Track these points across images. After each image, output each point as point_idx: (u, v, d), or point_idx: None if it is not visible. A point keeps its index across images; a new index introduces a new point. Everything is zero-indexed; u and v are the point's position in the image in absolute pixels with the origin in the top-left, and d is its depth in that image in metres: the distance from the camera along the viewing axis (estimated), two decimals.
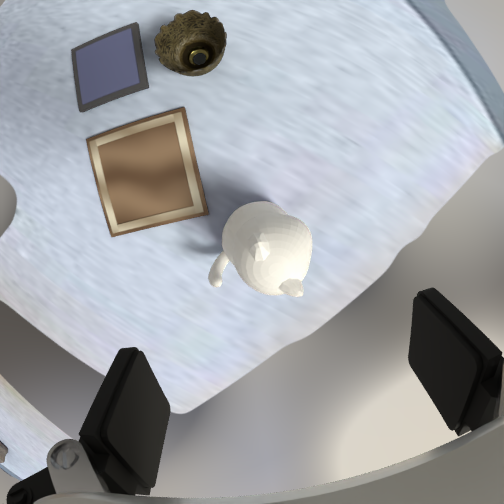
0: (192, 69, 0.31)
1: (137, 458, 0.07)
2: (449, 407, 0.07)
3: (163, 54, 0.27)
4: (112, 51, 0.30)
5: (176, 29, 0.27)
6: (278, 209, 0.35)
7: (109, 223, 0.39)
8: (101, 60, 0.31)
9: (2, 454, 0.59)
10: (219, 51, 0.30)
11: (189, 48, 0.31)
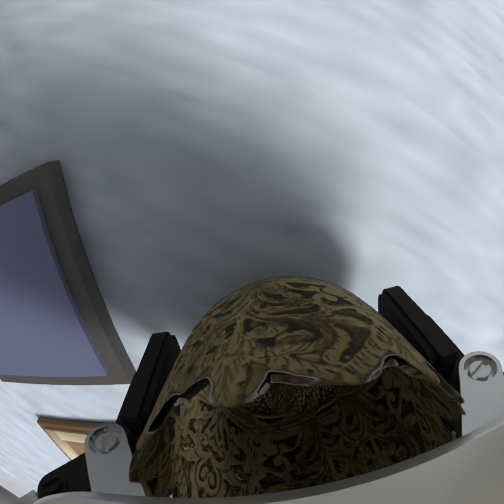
0: None
1: None
2: None
3: (175, 446, 0.07)
4: (6, 268, 0.10)
5: None
6: None
7: None
8: None
9: None
10: None
11: None
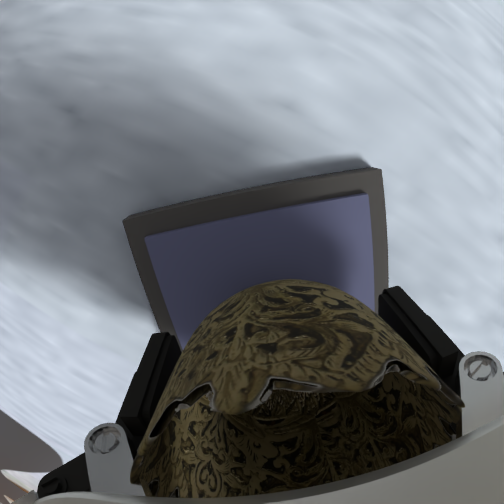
0: None
1: None
2: None
3: (175, 448, 0.07)
4: (302, 273, 0.12)
5: None
6: None
7: None
8: None
9: None
10: None
11: None
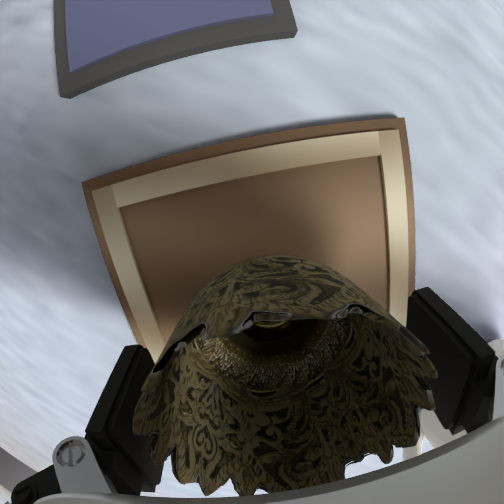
0: (257, 360, 0.12)
1: (143, 455, 0.07)
2: (443, 406, 0.07)
3: (174, 409, 0.08)
4: None
5: None
6: None
7: None
8: None
9: None
10: (344, 324, 0.11)
11: None
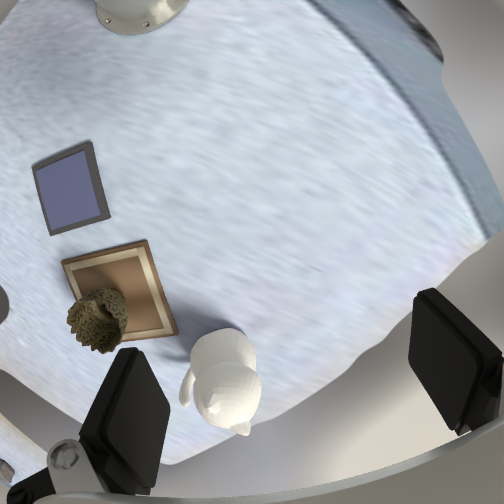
0: (109, 317, 0.38)
1: (137, 458, 0.07)
2: (449, 407, 0.07)
3: (79, 323, 0.34)
4: (70, 177, 0.33)
5: None
6: (237, 343, 0.38)
7: None
8: (61, 186, 0.33)
9: (10, 476, 0.61)
10: None
11: None
